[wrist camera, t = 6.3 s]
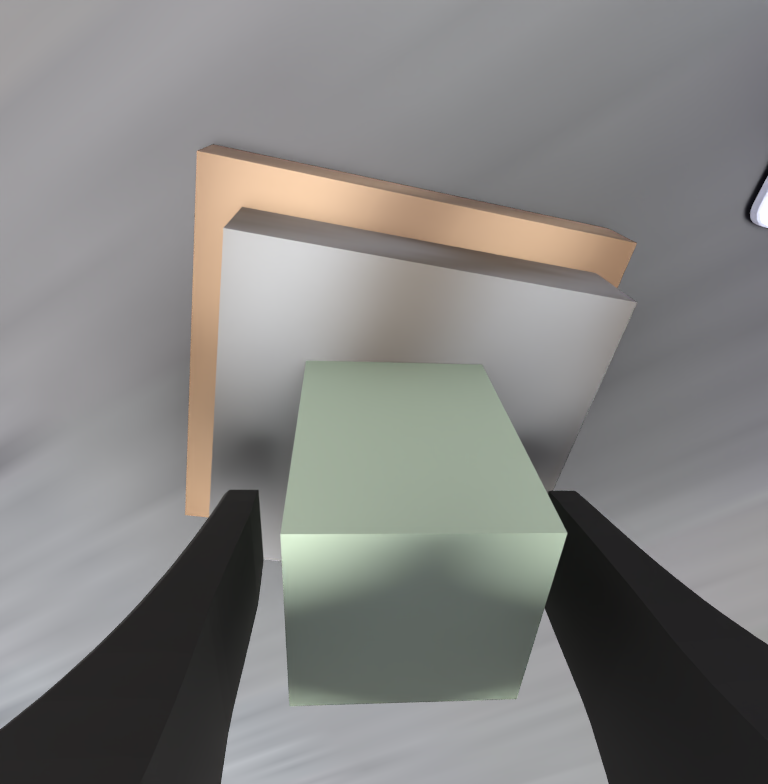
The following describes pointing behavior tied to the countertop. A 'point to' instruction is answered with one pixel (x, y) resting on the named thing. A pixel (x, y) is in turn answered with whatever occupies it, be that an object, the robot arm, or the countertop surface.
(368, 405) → the green block
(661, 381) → the countertop surface
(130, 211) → the countertop surface
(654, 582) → the robot arm
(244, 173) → the tower base
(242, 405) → the tower top
